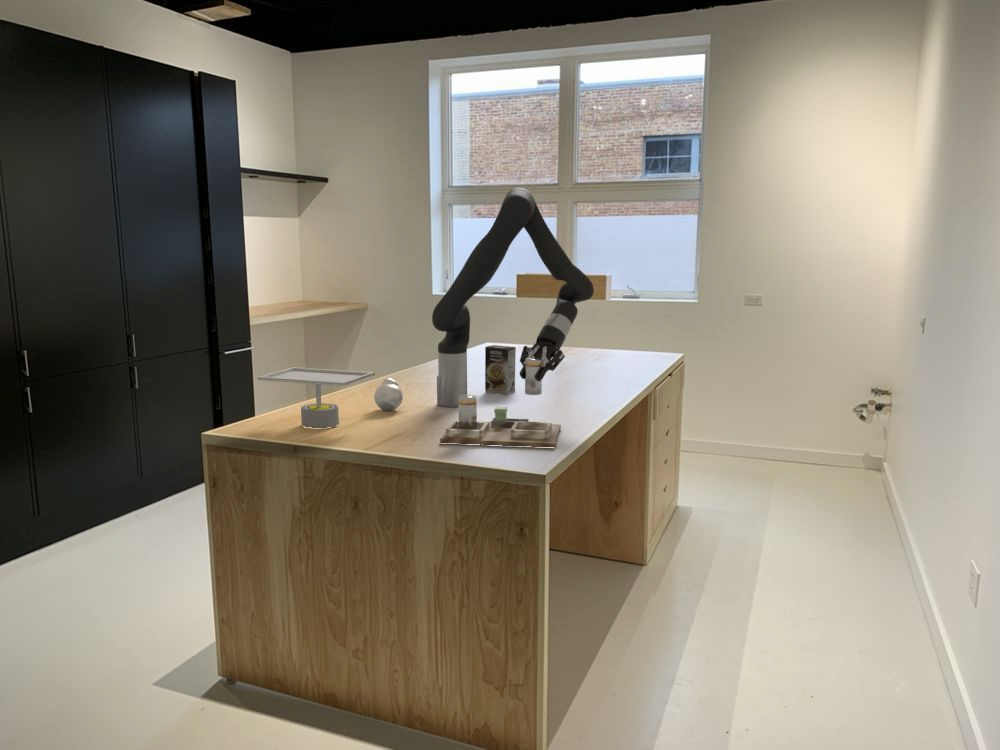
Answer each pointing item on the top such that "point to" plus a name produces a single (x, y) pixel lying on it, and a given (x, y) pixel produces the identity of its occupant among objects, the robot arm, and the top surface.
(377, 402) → the grey rounded lump
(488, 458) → the top surface
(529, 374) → the cylinder
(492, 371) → the coffee box
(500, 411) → the green notched block
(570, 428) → the top surface
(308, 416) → the solar panel model
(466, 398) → the seated billet
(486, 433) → the pallet
